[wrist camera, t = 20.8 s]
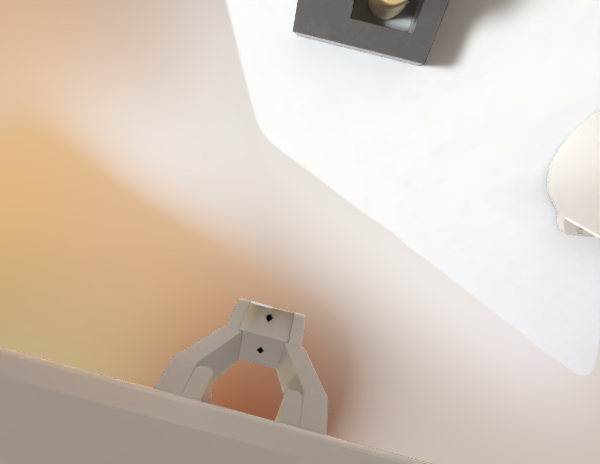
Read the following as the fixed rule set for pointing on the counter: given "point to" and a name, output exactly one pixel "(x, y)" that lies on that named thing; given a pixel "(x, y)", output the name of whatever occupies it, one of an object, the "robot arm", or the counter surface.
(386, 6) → the gold round-topped cylinder
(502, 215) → the counter surface
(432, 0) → the jig plate
